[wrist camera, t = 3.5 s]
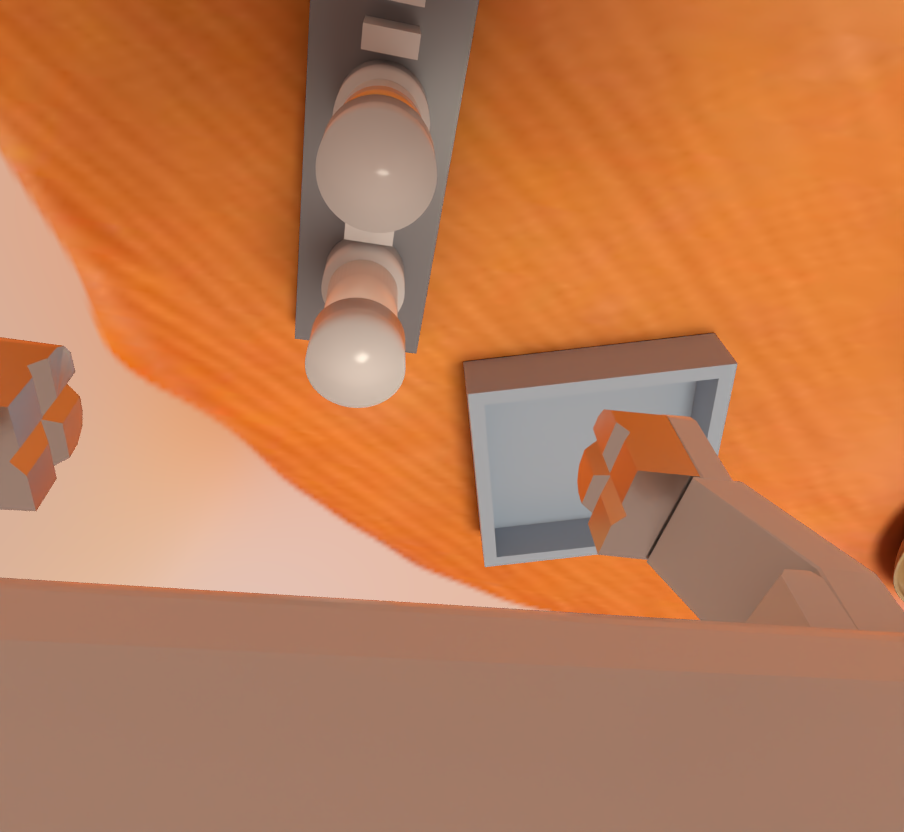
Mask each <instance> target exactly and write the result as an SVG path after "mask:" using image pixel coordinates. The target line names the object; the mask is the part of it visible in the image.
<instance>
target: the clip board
mask: <svg viewBox="0 0 904 832" xmlns="http://www.w3.org/2000/svg"><path fill="white" fill-rule="evenodd" d="M478 4H479V0H310V13H309V35H308V57H307V80H306V102H305V124H304V146H303V169H302V191H301V213H300V236H299V258H298V280H297V303H296V325H295V339H303V340H310V335H311V330H312V326H313V323H314V321H315V319H316V317H317V316H318V314H319V313H320V312H321V311H322V310H323V309H324V306H325V303H324V300H323V297H322V292H321V285H322V279H323V274H324V270H325V265H326V261H327V257H328V255H329V253H330V251H331V250H332V248H333V247H334V246H335V245H336V244H337V243H338V242H340V241H341V240H343V239H346V240H353V241H359V242H366V243H373V244H379V245H386V246H393V247H394V248H395V249H396V250H397V252H398V253H399V255H400V257H401V259H402V261H403V265H404V277H405V294H404V301H403V304H402V306H401V308H400V310H399V312H398V319H399V321H400V322H401V324H402V327H403V329H404V334H405V352H408V353H416V352H417V346H418V341H419V335H420V329H421V324H422V318H423V313H424V307H425V301H426V296H427V290H428V284H429V279H430V273H431V268H432V262H433V256H434V251H435V245H436V240H437V234H438V228H439V223H440V217H441V212H442V206H443V200H444V195H445V189H446V184H447V178H448V172H449V167H450V161H451V155H452V150H453V144H454V139H455V133H456V127H457V122H458V116H459V111H460V105H461V99H462V94H463V88H464V83H465V77H466V71H467V66H468V60H469V54H470V49H471V43H472V38H473V32H474V26H475V21H476V15H477V10H478ZM380 59H382V60H389V61H393V62H396V63H398V64H400V65H402V66H404V67H406V68H407V69H408V70H409V71H411V72H412V73H413V74H414V75H415V76H416V78H417V79H418V80H419V82H420V84H421V85H422V87H423V89H424V92H425V94H426V98H427V103H428V109H429V116H430V131H429V132H430V134H431V137H432V141H433V146H434V152H435V160H436V167H437V182H436V188H435V192H434V195H433V198H432V200H431V202H430V204H429V206H428V207H427V209H426V210H425V211H424V213H423V214H422V215H421V216H420V217H419V218H418V219H417V220H415V221H414V222H413V223H411V224H410V225H408V226H406V227H404V228H402V229H400V230H396V231H393V232H388V233H371V232H366V231H362V230H359V229H356V228H354V227H352V226H350V225H348V224H347V223H345V222H343V221H342V220H341V219H340V218H338V217H337V216H336V215H335V214H334V213H333V212H332V211H331V210H330V208H329V207H328V206H327V204H326V203H325V201H324V199H323V197H322V195H321V193H320V191H319V187H318V184H317V179H316V157H317V153H318V149H319V146H320V144H321V141H322V138H323V135H324V132H325V130H326V127H327V125H328V123H329V121H330V119H331V118H332V116H333V108H334V104H335V101H336V98H337V95H338V92H339V90H340V87H341V85H342V83H343V81H344V79H345V78H346V77H347V75H348V74H349V73H350V72H351V71H352V70H353V69H354V68H356V67H357V66H359V65H360V64H362V63H365V62H367V61H371V60H380Z"/></svg>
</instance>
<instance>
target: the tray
mask: <svg viewBox="0 0 904 832" xmlns="http://www.w3.org/2000/svg"><path fill="white" fill-rule="evenodd" d="M463 365H464V375H465V385H466V395H467V404H468V414H469V424H470V434H471V444H472V454H473V464H474V474H475V484H476V494H477V504H478V514H479V523H480V533H481V541H482V549H483V556H484V564H485V567H489V566H498V565H507V564H516V563H525V562H534V561H543V560H552V559H561V558H570V557H579V556H588V555H597V554H598V553H597V550H596V547H595V544H594V541H593V538H592V535H591V532H590V528H589V525H588V522H589V520H590V518H591V515H592V513H591V512H590V511H589V510H588V509H587V508H586V507H585V506H584V505H583V504H582V503H581V500H580V496H579V493H578V484H577V478H578V469H579V464H580V461H581V458H582V455H583V452H584V450H585V449H586V448H587V447H589V446H590V445H591V444H593V443H594V442H596V441H597V439H596V436H595V433H594V431H593V427H594V425H595V422H596V420H597V418H598V416H599V415H600V413H601V412H602V411H603V410H604V409H606V410H616V411H626V412H636V413H647V414H657V415H661V414H663V415H675V416H687V417H691V418H692V419H694V420H696V421H697V423H698V424H699V426H700V428H701V429H702V431H703V433H704V434H705V436H706V438H707V439H708V441H709V443H710V444H711V446H712V448H713V449H714V451H715V452H716V454H717V456H718V453H719V448H720V443H721V438H722V434H723V429H724V424H725V420H726V415H727V410H728V406H729V401H730V396H731V391H732V387H733V382H734V377H735V373H736V368H737V362H736V361H735V360H734V358H733V357H732V356H731V354H730V353H729V352H728V350H727V349H726V348H725V346H724V345H723V344H722V342H721V341H720V340H719V338H718V337H717V336H716V334H715V333H710V334H701V335H693V336H684V337H675V338H666V339H658V340H649V341H640V342H631V343H623V344H614V345H605V346H596V347H588V348H579V349H570V350H561V351H553V352H544V353H535V354H526V355H518V356H509V357H500V358H491V359H483V360H474V361H465V362H463Z"/></svg>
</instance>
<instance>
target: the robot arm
mask: <svg viewBox="0 0 904 832" xmlns="http://www.w3.org/2000/svg"><path fill="white" fill-rule="evenodd" d="M74 373H75V368H74V364H73V360H72V356H71V352H70V351H69V350H68V349H67V348H66V347H64V346H61V345H54V344H46V343H38V342H32V341H24V340H16V339H9V338H2V337H0V509H4V510H23V511H36V510H37V509H38V507H39V506H40V504H41V502H42V501H43V499H44V498H45V496H46V495H47V493H48V492H49V490H50V488H51V487H52V485H53V484H54V482H55V480H56V474H55V469H54V466H55V465H56V464H58V463H60V462H62V461H64V460H66V459H68V458H69V457H70V456H71V454H72V453H73V451H74V449H75V447H76V446H77V444H78V440H79V436H80V433H81V429H82V405H81V399H80V396H79V395H78V394H76V392H75V391H74V390H73V389H72V388H71V387H69V385H68V384H67V383H68V381H69V380H70V379H71V377H72V376H73V374H74ZM593 431H594V433H595V436H596V439H597V441H596V442H594V443H593V444H591V445H590V446H589V447H587V448H586V449H585V450H584V452H583V455H582V458H581V461H580V464H579V469H578V478H577V484H578V493H579V496H580V500H581V503H582V504H583V505H584V506H585V507H586V508H587V509H588V510H589V511H590V512H591V513H592V515H591V518H590V520H589V522H588V525H589V528H590V532H591V535H592V538H593V541H594V544H595V547H596V550H597V553H598V555H608V556H617V557H627V558H636V559H646V560H647V563H648V564H649V565H650V566H651V567H652V568H653V569H654V570H655V571H656V572H657V573H658V575H659V576H660V577H661V578H662V579H663V580H664V581H665V582H666V583H667V584H668V585H669V586H670V587H671V589H672V590H673V591H674V592H675V593H676V594H677V595H678V596H679V597H680V598H681V599H682V600H683V601H684V603H685V604H686V605H687V606H688V607H689V608H690V609H691V610H692V611H693V612H694V613H695V614H696V616H697V617H698V618H699V619H700V620H687V619H670V618H652V617H635V616H619V615H603V614H587V613H571V612H555V611H539V610H523V609H507V608H491V607H474V606H458V605H442V604H427V603H410V602H394V601H377V600H360V599H344V598H326V597H310V596H293V595H277V594H259V593H244V592H227V591H210V590H194V589H177V588H160V587H144V586H128V585H127V586H126V585H112V584H111V585H110V584H96V583H79V582H62V581H45V580H29V579H13V578H0V832H904V611H903V610H902V609H901V607H900V606H899V605H898V603H897V602H896V600H895V599H894V598H893V596H892V595H891V594H890V592H889V591H888V590H887V588H886V587H885V585H884V584H883V583H882V581H881V580H880V579H879V577H878V576H877V575H876V574H875V573H874V572H872V571H871V570H869V569H868V568H866V567H865V566H863V565H862V564H861V563H859V562H858V561H856V560H855V559H853V558H852V557H850V556H849V555H847V554H846V553H845V552H843V551H842V550H840V549H839V548H837V547H836V546H834V545H833V544H831V543H830V542H828V541H827V540H826V539H824V538H823V537H821V536H820V535H818V534H817V533H815V532H814V531H812V530H811V529H810V528H808V527H807V526H805V525H804V524H802V523H801V522H799V521H798V520H796V519H795V518H793V517H792V516H791V515H789V514H788V513H786V512H785V511H783V510H782V509H780V508H779V507H777V506H776V505H775V504H773V503H772V502H770V501H769V500H767V499H766V498H764V497H763V496H761V495H760V494H759V493H757V492H756V491H754V490H753V489H751V488H750V487H748V486H747V485H745V484H744V483H742V482H738V481H733V480H732V479H731V477H730V476H729V474H728V472H727V471H726V469H725V467H724V466H723V464H722V462H721V461H720V459H719V457H718V456H717V454H716V452H715V451H714V449H713V448H712V446H711V444H710V443H709V441H708V439H707V438H706V436H705V434H704V433H703V431H702V429H701V428H700V426H699V424H698V423H697V421H696V420H694V419H692V418H691V417H687V416H675V415H663V414H661V415H657V414H647V413H636V412H626V411H616V410H606V409H604V410H603V411H602V412H601V413H600V415H599V416H598V418H597V420H596V422H595V425H594V427H593Z"/></svg>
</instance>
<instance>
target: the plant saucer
mask: <svg viewBox="0 0 904 832" xmlns="http://www.w3.org/2000/svg"><path fill="white" fill-rule="evenodd" d="M893 583H894V588H895V591H896V593H897V595H898V596H899V597H900V598H901V599H902V601H904V539H903V541H902V543H901V545H900V548H899V551H898V553H897V557H896V561H895V566H894V577H893Z"/></svg>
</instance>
